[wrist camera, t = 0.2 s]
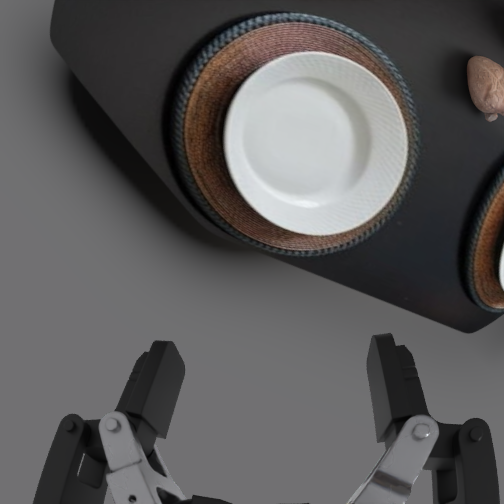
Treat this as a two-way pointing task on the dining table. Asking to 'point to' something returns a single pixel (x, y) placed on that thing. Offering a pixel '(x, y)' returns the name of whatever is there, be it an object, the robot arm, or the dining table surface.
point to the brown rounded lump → (486, 86)
